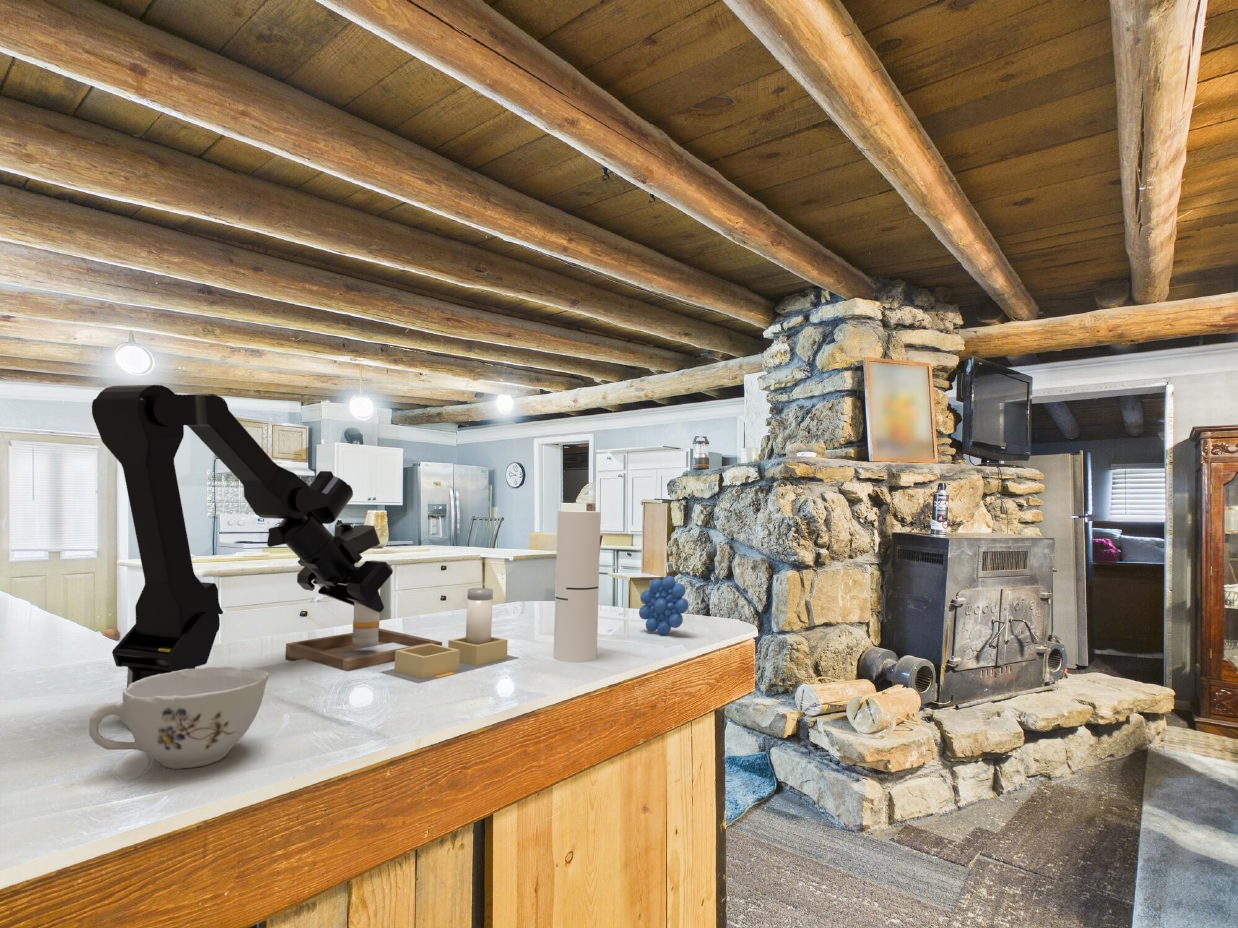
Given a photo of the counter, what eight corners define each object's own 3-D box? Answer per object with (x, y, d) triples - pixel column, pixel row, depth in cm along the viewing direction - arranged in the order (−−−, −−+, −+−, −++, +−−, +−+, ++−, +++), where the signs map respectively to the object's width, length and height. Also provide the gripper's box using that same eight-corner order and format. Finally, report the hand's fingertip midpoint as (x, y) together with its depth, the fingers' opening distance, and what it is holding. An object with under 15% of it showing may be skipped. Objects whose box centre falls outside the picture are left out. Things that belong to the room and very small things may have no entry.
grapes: (698, 635, 137) (699, 575, 138) (680, 640, 132) (681, 578, 132) (651, 627, 144) (652, 571, 145) (632, 632, 139) (633, 573, 139)
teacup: (245, 728, 78) (249, 657, 78) (280, 761, 69) (284, 681, 69) (78, 760, 68) (83, 679, 68) (93, 804, 58) (99, 710, 59)
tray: (347, 677, 100) (347, 660, 100) (285, 658, 110) (286, 643, 110) (441, 657, 114) (442, 642, 114) (379, 642, 124) (379, 628, 124)
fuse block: (418, 690, 94) (419, 661, 95) (379, 678, 100) (380, 651, 100) (519, 663, 111) (520, 638, 111) (481, 655, 116) (482, 631, 116)
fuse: (476, 662, 106) (479, 592, 107) (459, 658, 109) (462, 589, 109) (495, 658, 110) (498, 589, 110) (478, 654, 112) (481, 587, 112)
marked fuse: (361, 648, 109) (364, 579, 110) (346, 645, 111) (349, 577, 112) (383, 644, 112) (386, 577, 113) (368, 641, 115) (371, 575, 115)
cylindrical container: (590, 669, 108) (595, 512, 109) (547, 666, 109) (552, 511, 110) (600, 659, 115) (604, 511, 116) (560, 656, 116) (564, 510, 117)
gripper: (384, 509, 104) (439, 576, 113) (317, 506, 115) (372, 567, 124) (335, 564, 98) (397, 631, 106) (269, 555, 109) (329, 616, 117)
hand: (374, 608), depth 113 cm, fingers closed on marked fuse, 4 cm apart
